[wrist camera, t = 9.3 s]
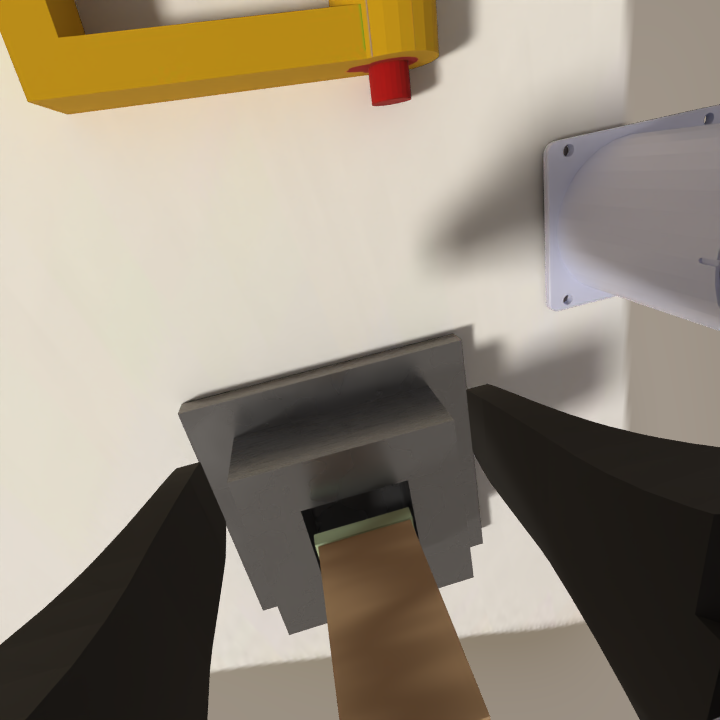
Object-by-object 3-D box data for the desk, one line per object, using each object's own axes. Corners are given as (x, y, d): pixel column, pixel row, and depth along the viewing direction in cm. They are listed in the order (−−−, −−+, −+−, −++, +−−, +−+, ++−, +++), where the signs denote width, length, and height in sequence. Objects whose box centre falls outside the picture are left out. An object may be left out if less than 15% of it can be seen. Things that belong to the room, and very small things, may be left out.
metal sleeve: (453, 333, 22) (500, 373, 18) (476, 531, 28) (516, 601, 24) (181, 403, 21) (156, 466, 17) (263, 596, 27) (261, 682, 22)
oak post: (408, 506, 19) (493, 713, 12) (421, 573, 21) (502, 789, 13) (313, 534, 18) (340, 765, 11) (335, 600, 20) (370, 837, 13)
